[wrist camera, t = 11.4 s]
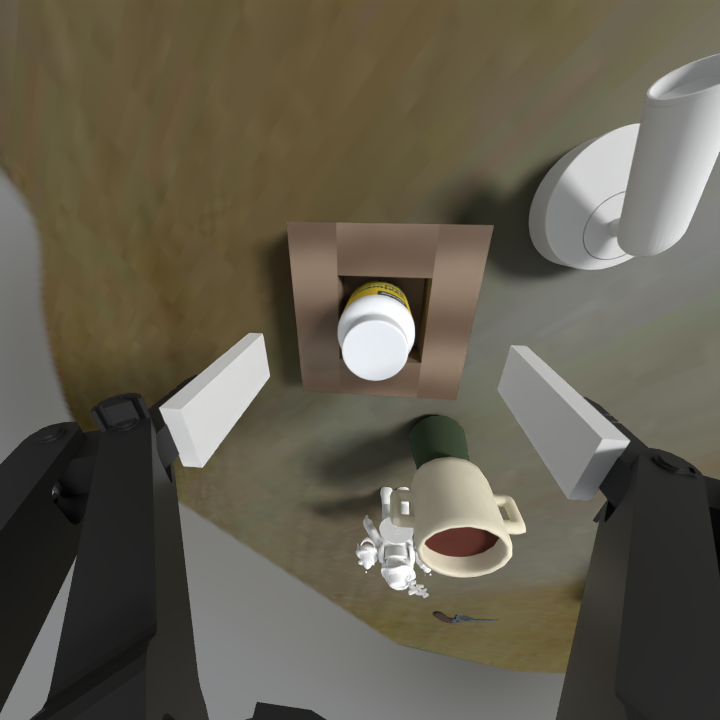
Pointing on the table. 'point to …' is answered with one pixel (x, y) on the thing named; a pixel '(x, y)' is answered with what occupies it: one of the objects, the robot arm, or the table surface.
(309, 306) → the well block
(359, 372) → the supplement bottle
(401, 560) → the hat wearing toy figure
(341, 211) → the table surface
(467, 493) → the character mug
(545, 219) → the white tilted tube stand
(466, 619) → the knife
